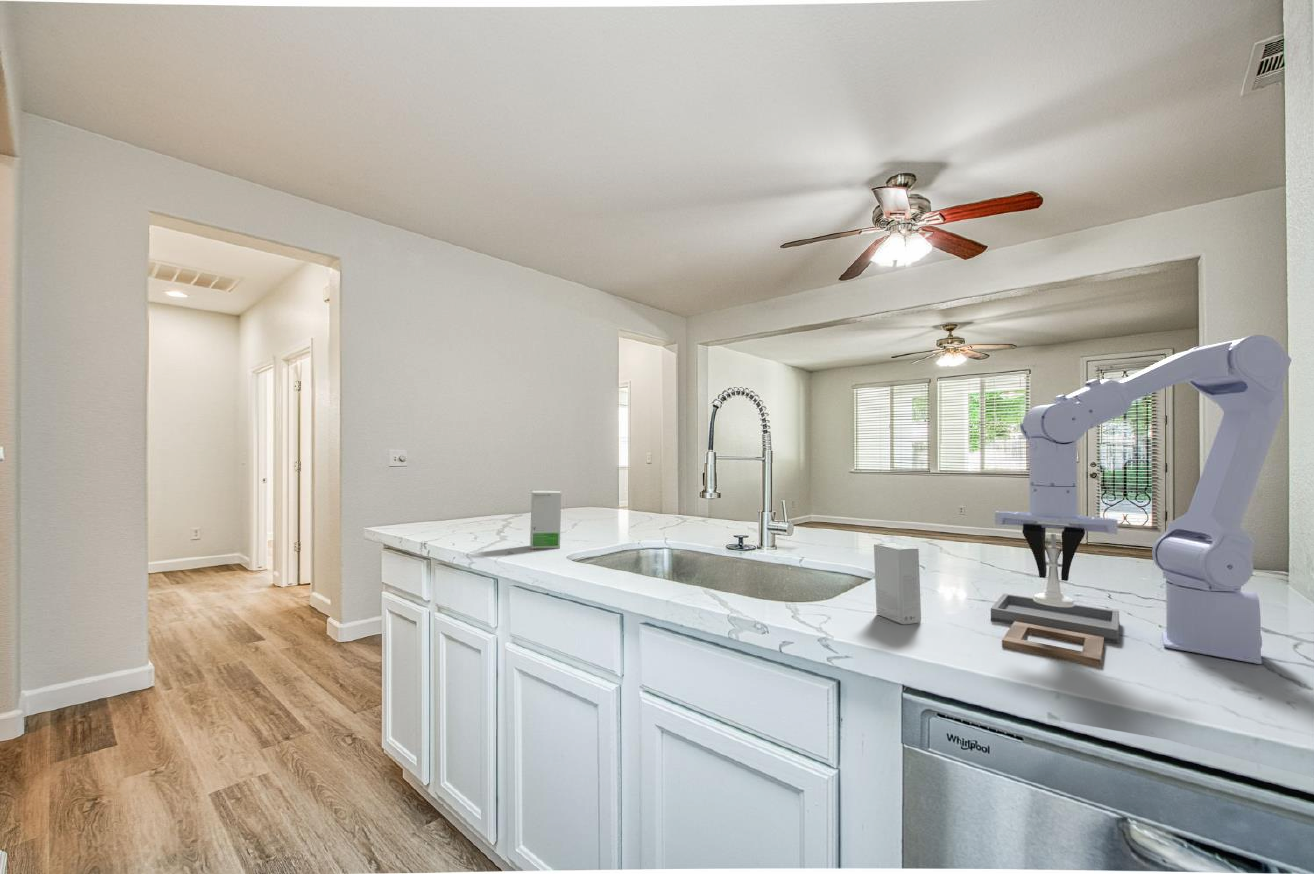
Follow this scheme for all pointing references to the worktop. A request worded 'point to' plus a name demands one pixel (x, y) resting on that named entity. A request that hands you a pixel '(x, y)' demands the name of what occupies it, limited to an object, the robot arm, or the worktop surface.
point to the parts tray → (1057, 616)
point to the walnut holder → (1087, 656)
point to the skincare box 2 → (897, 582)
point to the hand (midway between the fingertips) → (1053, 577)
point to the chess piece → (1053, 579)
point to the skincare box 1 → (545, 519)
